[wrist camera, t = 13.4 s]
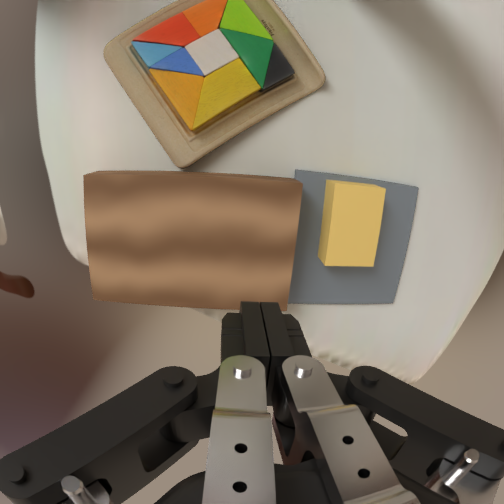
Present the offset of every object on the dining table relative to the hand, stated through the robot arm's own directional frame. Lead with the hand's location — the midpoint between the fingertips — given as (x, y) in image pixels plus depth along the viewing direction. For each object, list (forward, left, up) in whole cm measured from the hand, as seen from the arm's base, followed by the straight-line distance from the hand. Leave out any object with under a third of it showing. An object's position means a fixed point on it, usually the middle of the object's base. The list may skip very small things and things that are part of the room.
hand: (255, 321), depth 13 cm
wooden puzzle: (-16, -4, -24) cm, 29 cm away
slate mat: (+4, +14, -23) cm, 27 cm away
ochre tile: (+1, +13, -21) cm, 25 cm away
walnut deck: (+4, -5, -23) cm, 24 cm away
